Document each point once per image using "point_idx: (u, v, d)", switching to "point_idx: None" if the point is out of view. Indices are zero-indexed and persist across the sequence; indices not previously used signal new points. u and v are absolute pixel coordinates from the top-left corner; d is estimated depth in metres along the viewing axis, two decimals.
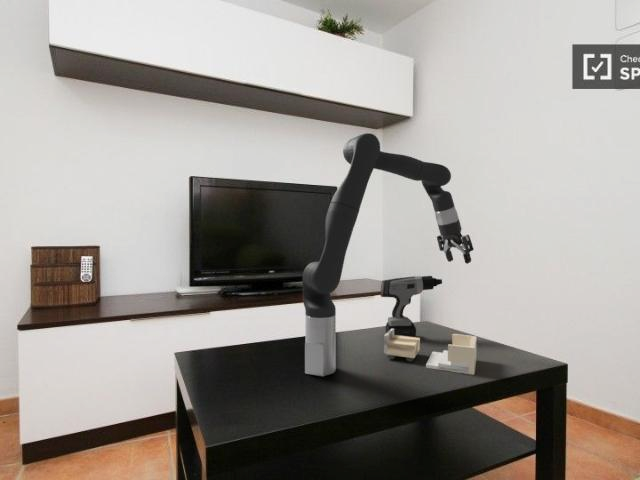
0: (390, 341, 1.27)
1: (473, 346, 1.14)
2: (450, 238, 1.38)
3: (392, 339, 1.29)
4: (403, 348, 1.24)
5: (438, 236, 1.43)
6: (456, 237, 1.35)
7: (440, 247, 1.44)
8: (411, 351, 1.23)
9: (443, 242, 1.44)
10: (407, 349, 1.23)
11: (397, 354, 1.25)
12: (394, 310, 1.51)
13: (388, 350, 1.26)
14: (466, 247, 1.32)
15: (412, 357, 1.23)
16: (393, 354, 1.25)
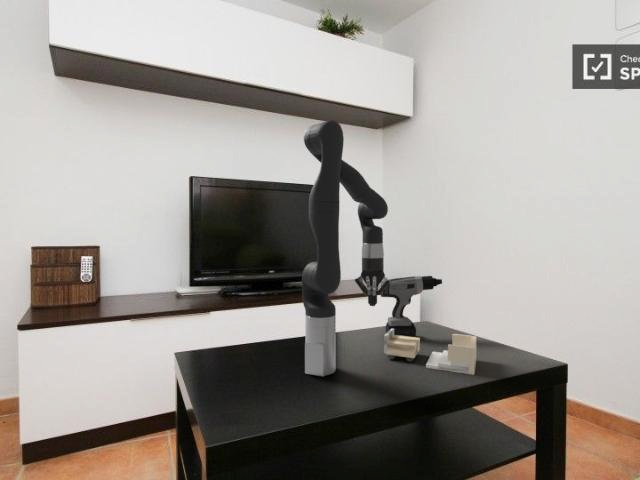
0: (390, 341, 1.27)
1: (473, 346, 1.14)
2: (371, 275, 1.32)
3: (392, 339, 1.29)
4: (403, 348, 1.24)
5: None
6: (381, 274, 1.30)
7: (363, 289, 1.33)
8: (411, 351, 1.23)
9: (363, 284, 1.35)
10: (407, 349, 1.23)
11: (397, 354, 1.25)
12: (394, 310, 1.51)
13: (388, 350, 1.26)
14: (381, 289, 1.30)
15: (412, 357, 1.23)
16: (393, 354, 1.25)
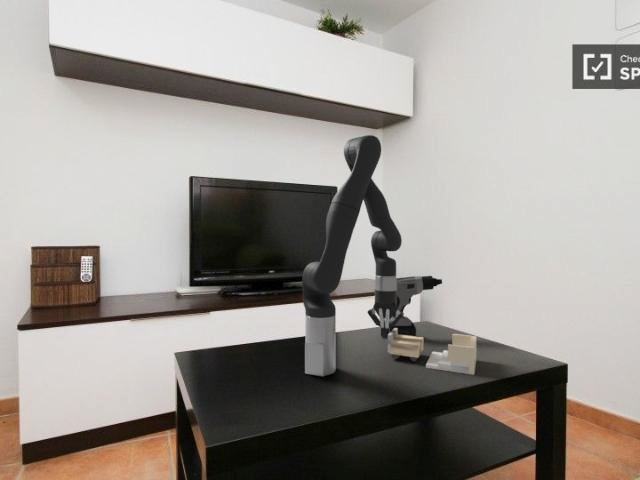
0: (394, 340, 1.26)
1: (473, 346, 1.14)
2: (384, 307, 1.30)
3: (396, 338, 1.29)
4: (406, 348, 1.23)
5: None
6: (394, 307, 1.29)
7: (375, 321, 1.31)
8: (415, 351, 1.22)
9: (375, 316, 1.33)
10: (411, 348, 1.23)
11: (401, 354, 1.24)
12: None
13: (392, 350, 1.25)
14: (395, 322, 1.29)
15: (416, 357, 1.22)
16: (397, 354, 1.25)
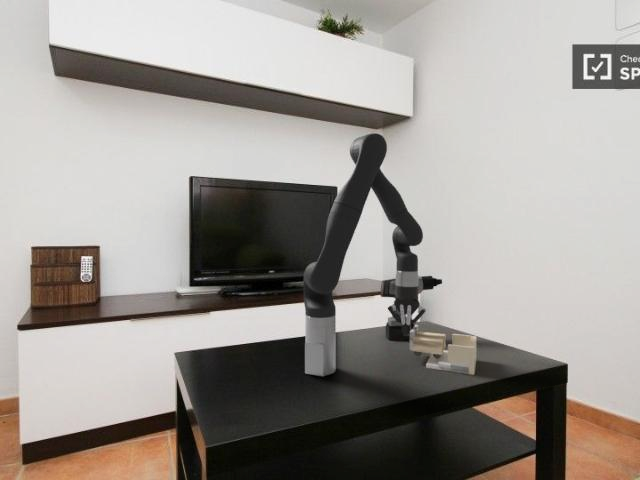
0: (416, 337, 1.23)
1: (473, 346, 1.14)
2: (406, 304, 1.27)
3: (417, 335, 1.26)
4: (429, 345, 1.20)
5: (389, 306, 1.30)
6: (416, 303, 1.26)
7: (396, 318, 1.28)
8: (438, 348, 1.19)
9: (396, 312, 1.30)
10: (434, 345, 1.20)
11: (423, 351, 1.21)
12: None
13: (414, 347, 1.22)
14: (416, 319, 1.26)
15: (439, 354, 1.19)
16: (419, 351, 1.22)
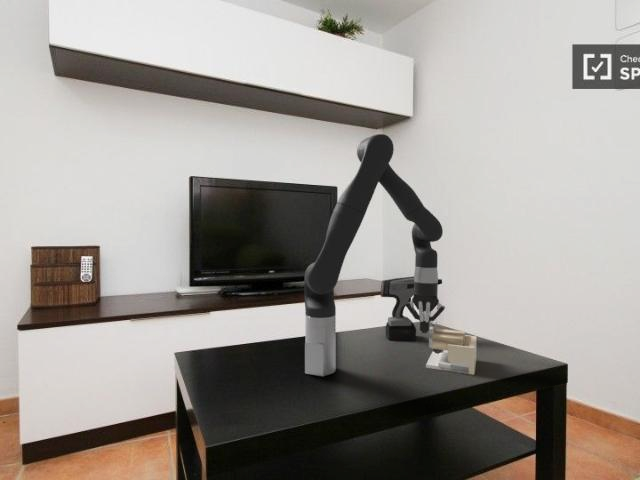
0: (435, 335, 1.21)
1: (473, 346, 1.14)
2: (424, 300, 1.25)
3: (436, 333, 1.23)
4: (450, 342, 1.18)
5: (407, 303, 1.27)
6: (435, 300, 1.23)
7: (414, 315, 1.26)
8: None
9: (414, 309, 1.27)
10: (454, 342, 1.17)
11: (443, 348, 1.18)
12: (394, 310, 1.51)
13: (433, 344, 1.20)
14: (435, 316, 1.23)
15: None
16: (439, 349, 1.19)
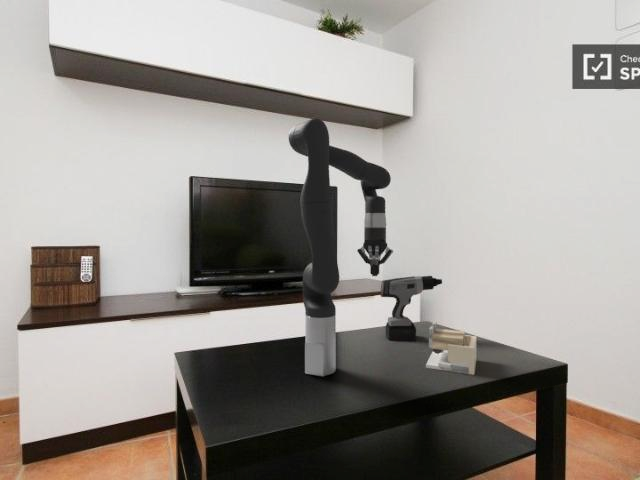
0: (435, 335, 1.21)
1: (473, 346, 1.14)
2: (374, 245, 1.32)
3: (436, 333, 1.23)
4: (449, 342, 1.18)
5: (358, 249, 1.35)
6: (383, 244, 1.31)
7: (365, 259, 1.33)
8: None
9: (365, 254, 1.35)
10: (454, 342, 1.17)
11: (443, 348, 1.18)
12: (394, 310, 1.51)
13: (433, 344, 1.20)
14: (384, 259, 1.31)
15: None
16: (439, 349, 1.19)
